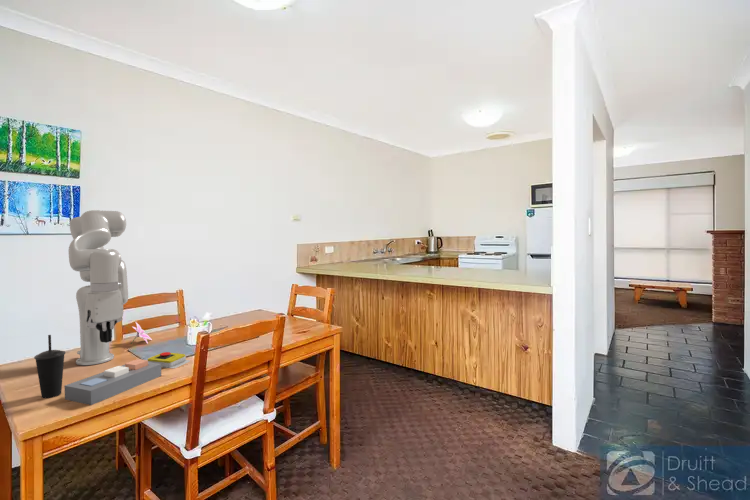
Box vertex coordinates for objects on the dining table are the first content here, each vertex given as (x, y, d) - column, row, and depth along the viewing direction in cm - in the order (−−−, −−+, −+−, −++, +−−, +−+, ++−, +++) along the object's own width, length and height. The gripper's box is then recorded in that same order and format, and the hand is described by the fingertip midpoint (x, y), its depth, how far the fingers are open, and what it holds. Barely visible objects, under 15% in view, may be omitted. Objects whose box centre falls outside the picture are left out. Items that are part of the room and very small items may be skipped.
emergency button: (161, 348, 157) (191, 351, 153) (161, 358, 157) (191, 361, 154) (142, 355, 148) (174, 358, 144) (143, 366, 148) (174, 369, 145)
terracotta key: (125, 371, 133) (125, 363, 132) (138, 366, 137) (137, 359, 137) (135, 373, 131) (135, 365, 131) (148, 368, 136) (147, 360, 136)
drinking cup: (48, 390, 124) (46, 332, 123) (72, 390, 124) (70, 331, 124) (29, 400, 116) (26, 338, 115) (54, 400, 117) (52, 338, 116)
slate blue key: (80, 392, 118) (80, 383, 118) (96, 386, 123) (96, 377, 123) (91, 394, 117) (91, 385, 117) (107, 388, 122) (107, 379, 122)
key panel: (64, 399, 117) (64, 385, 117) (137, 371, 141) (137, 360, 141) (91, 405, 113) (90, 390, 113) (161, 375, 137) (161, 363, 137)
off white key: (104, 379, 126) (103, 370, 125) (118, 374, 130) (118, 365, 130) (114, 381, 124) (114, 372, 124) (128, 375, 129) (128, 367, 129)
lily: (135, 350, 170) (147, 331, 172) (115, 339, 172) (127, 320, 174) (151, 350, 182) (162, 332, 184) (132, 340, 183) (142, 322, 185)
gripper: (119, 284, 131) (120, 334, 132) (72, 290, 117) (74, 346, 118) (134, 285, 128) (135, 336, 129) (88, 291, 114) (89, 349, 115)
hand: (106, 341), depth 124 cm, fingers closed
